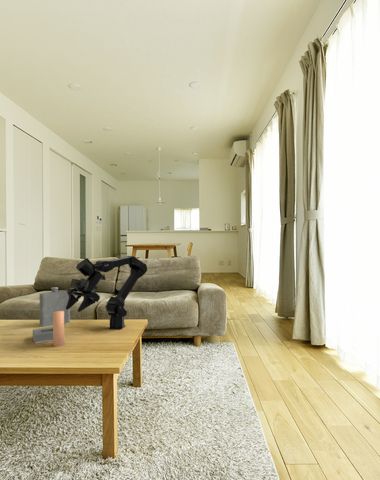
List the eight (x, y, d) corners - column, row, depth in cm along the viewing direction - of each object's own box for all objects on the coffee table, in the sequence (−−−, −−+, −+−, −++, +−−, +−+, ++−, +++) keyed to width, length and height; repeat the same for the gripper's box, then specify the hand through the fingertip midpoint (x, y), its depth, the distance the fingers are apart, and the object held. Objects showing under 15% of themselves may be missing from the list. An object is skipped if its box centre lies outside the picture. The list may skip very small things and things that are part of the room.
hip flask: (40, 327, 164) (40, 289, 164) (38, 325, 167) (38, 288, 167) (70, 322, 175) (70, 286, 175) (68, 320, 178) (67, 285, 178)
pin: (66, 343, 135) (66, 310, 135) (60, 346, 131) (60, 312, 131) (57, 342, 136) (56, 310, 136) (50, 346, 131) (50, 312, 132)
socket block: (59, 333, 151) (59, 326, 151) (63, 339, 142) (63, 331, 142) (32, 337, 145) (32, 329, 145) (34, 343, 136) (34, 335, 136)
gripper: (69, 271, 150) (48, 298, 141) (92, 272, 138) (72, 302, 130) (84, 284, 156) (65, 311, 147) (108, 287, 145) (89, 316, 136)
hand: (72, 310), depth 140 cm, fingers open, 9 cm apart
